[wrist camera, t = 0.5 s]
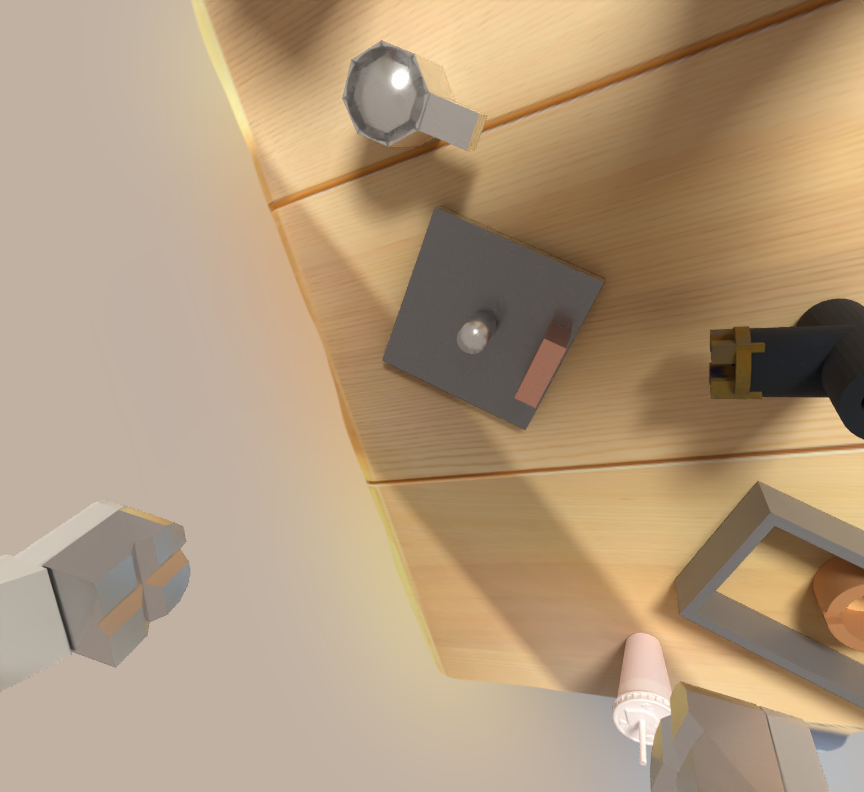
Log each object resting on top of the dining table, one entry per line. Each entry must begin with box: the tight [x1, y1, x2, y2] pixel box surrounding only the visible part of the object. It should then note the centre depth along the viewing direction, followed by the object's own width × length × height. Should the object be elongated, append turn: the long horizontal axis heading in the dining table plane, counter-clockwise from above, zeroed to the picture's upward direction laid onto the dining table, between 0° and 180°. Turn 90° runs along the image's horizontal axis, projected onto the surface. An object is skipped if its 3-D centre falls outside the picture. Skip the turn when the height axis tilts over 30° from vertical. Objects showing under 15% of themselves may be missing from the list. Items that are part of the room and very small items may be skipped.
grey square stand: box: [382, 206, 604, 430], centre depth 50 cm, size 16×16×6 cm
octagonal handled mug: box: [342, 40, 487, 151], centre depth 43 cm, size 6×10×7 cm, turn 69°
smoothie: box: [612, 633, 672, 766], centre depth 56 cm, size 6×6×14 cm
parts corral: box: [675, 481, 864, 709], centre depth 50 cm, size 14×24×5 cm, turn 69°
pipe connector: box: [709, 299, 864, 439], centre depth 39 cm, size 12×5×15 cm, turn 100°
